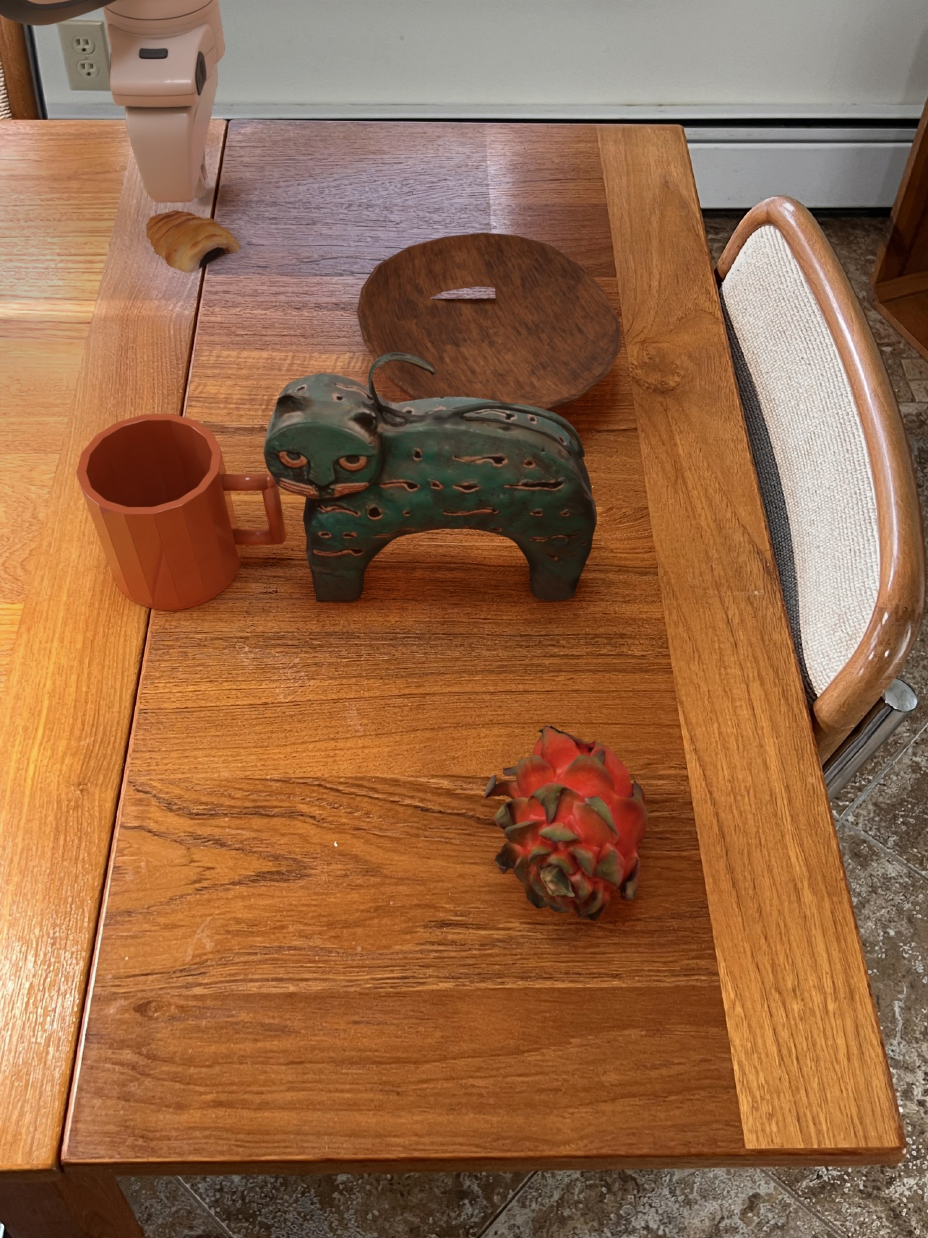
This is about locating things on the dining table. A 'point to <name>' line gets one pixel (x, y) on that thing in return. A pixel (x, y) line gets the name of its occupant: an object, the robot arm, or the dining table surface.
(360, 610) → the dining table surface
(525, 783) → the dragon fruit
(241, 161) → the dining table surface
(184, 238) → the pastry
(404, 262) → the bowl
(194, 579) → the mug
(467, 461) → the ceramic cat
